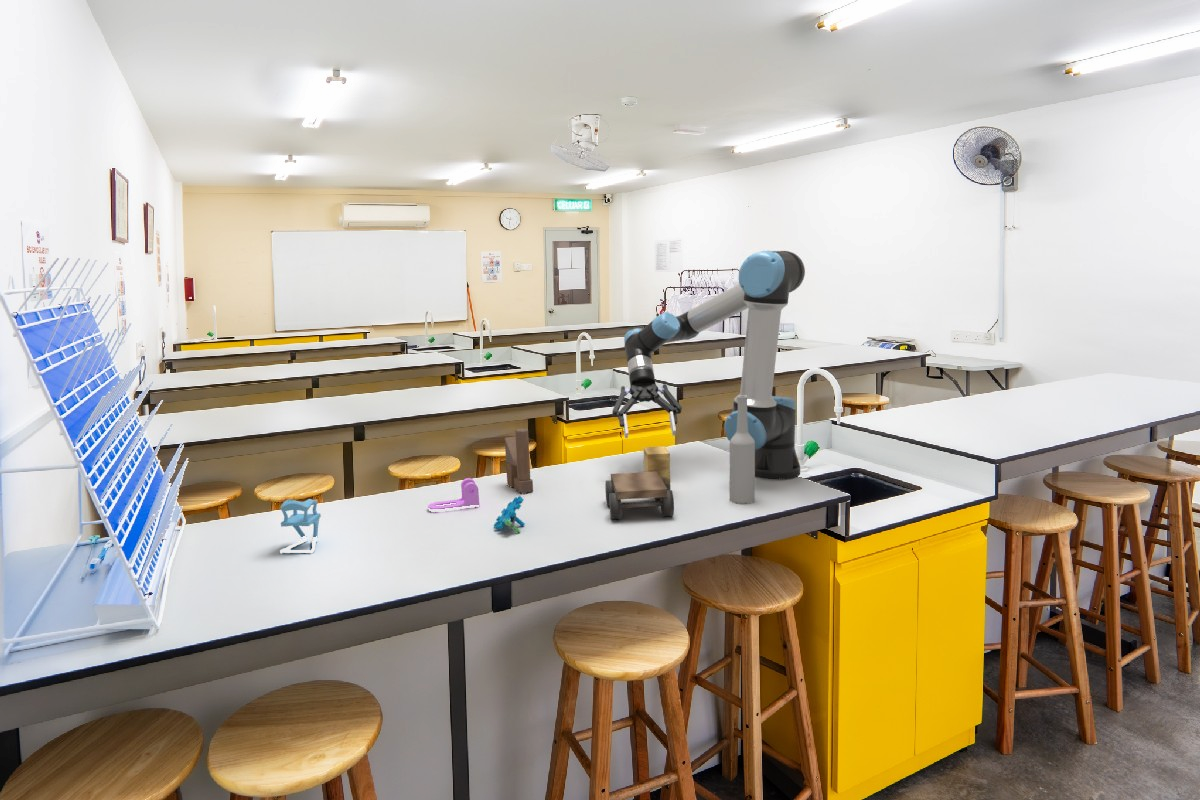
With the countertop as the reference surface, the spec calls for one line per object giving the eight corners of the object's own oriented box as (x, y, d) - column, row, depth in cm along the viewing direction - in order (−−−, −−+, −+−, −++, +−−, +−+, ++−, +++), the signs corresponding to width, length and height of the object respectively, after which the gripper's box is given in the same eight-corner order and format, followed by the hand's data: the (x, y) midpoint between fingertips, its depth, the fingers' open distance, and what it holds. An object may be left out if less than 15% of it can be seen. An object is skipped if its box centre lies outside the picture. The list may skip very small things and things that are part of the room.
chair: (327, 540, 174) (322, 491, 172) (312, 553, 166) (307, 502, 164) (295, 541, 175) (290, 492, 173) (279, 554, 167) (273, 503, 165)
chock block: (665, 487, 207) (664, 446, 205) (670, 496, 199) (670, 453, 197) (644, 488, 207) (643, 447, 205) (648, 497, 199) (647, 454, 197)
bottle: (724, 498, 196) (724, 395, 191) (744, 494, 199) (744, 392, 194) (739, 505, 190) (740, 399, 185) (760, 501, 193) (760, 396, 188)
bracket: (476, 501, 200) (474, 477, 199) (479, 508, 195) (478, 482, 194) (427, 508, 196) (425, 483, 195) (429, 514, 191) (427, 489, 190)
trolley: (662, 497, 198) (662, 470, 197) (674, 519, 181) (673, 489, 180) (605, 500, 197) (604, 473, 196) (612, 522, 180) (611, 493, 179)
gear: (494, 514, 184) (520, 487, 182) (512, 528, 186) (538, 502, 183) (488, 535, 174) (516, 507, 172) (507, 550, 175) (535, 523, 173)
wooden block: (518, 483, 216) (515, 423, 213) (533, 492, 207) (530, 429, 204) (506, 485, 214) (503, 424, 211) (521, 494, 205) (518, 431, 202)
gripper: (680, 379, 225) (691, 438, 213) (599, 383, 223) (606, 443, 211) (684, 364, 218) (695, 424, 206) (600, 368, 216) (607, 429, 204)
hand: (650, 434), depth 208 cm, fingers open, 13 cm apart
